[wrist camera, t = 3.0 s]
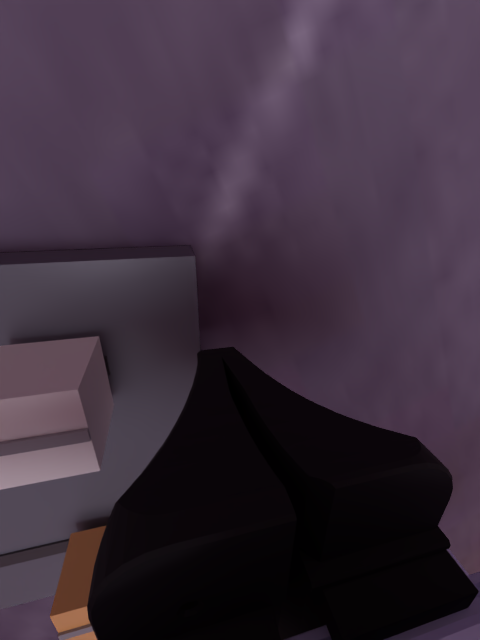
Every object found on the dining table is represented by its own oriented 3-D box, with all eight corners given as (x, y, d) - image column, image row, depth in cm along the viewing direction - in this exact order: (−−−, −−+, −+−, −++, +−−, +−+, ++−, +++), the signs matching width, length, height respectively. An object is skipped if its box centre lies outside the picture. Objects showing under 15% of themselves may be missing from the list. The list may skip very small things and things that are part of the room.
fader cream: (99, 336, 10) (76, 392, 8) (113, 404, 12) (99, 473, 9) (-1, 345, 10) (-65, 410, 7) (26, 417, 11) (-19, 496, 8)
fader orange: (138, 518, 14) (133, 596, 12) (146, 553, 16) (143, 632, 13) (70, 533, 14) (48, 620, 11) (84, 569, 15) (68, 655, 12)
